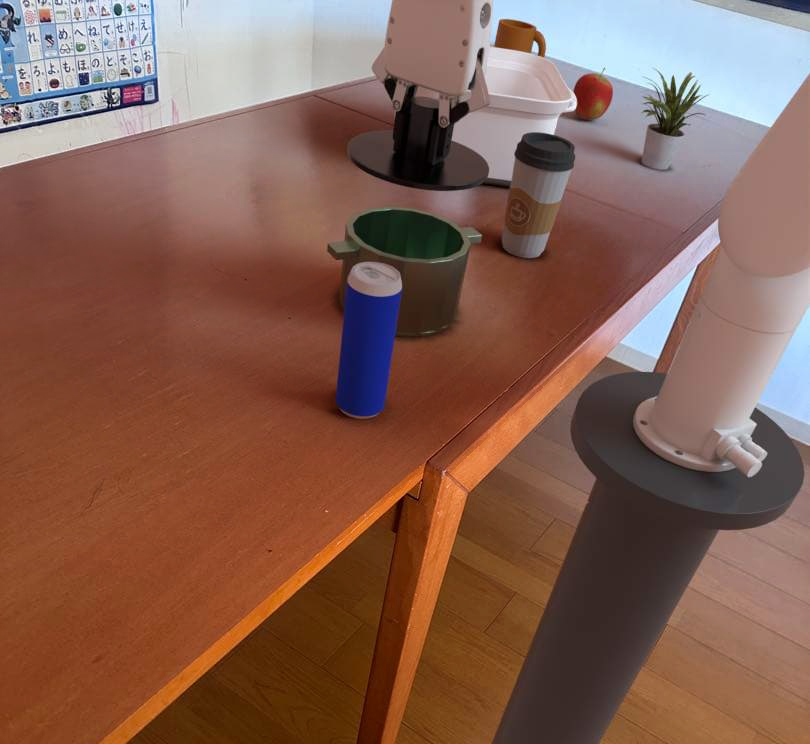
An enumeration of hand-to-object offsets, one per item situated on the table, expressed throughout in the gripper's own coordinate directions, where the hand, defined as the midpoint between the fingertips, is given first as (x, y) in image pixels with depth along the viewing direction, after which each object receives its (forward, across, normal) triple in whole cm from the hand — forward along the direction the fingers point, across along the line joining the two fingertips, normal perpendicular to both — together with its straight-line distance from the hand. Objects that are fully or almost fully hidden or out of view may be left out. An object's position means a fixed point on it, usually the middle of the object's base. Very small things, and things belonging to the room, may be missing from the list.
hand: (419, 153), depth 90 cm
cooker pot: (+18, 0, 0) cm, 18 cm away
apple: (+19, +11, -99) cm, 101 cm away
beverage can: (+19, -8, +22) cm, 30 cm away
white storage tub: (+19, +18, -54) cm, 60 cm away
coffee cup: (+19, -5, -28) cm, 34 cm away
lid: (+1, 0, 0) cm, 1 cm away
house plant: (+19, -8, -86) cm, 88 cm away
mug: (+19, +37, -120) cm, 127 cm away
